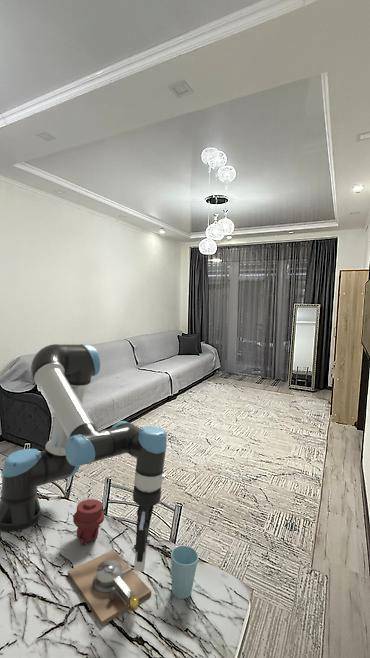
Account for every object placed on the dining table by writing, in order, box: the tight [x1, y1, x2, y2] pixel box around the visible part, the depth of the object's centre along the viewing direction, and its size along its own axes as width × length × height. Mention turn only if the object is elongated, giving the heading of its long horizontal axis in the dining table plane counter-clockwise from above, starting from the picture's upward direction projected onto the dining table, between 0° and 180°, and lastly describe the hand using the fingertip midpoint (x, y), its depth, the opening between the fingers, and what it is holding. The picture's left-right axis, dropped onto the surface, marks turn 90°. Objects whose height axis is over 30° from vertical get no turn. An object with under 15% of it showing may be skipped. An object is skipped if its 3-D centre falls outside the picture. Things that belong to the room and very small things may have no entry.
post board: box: [67, 549, 152, 627], centre depth 92 cm, size 20×15×4 cm
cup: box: [170, 545, 199, 600], centre depth 92 cm, size 8×8×10 cm
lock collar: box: [96, 560, 140, 612], centre depth 88 cm, size 7×17×3 cm, turn 43°
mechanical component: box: [72, 498, 105, 546], centre depth 110 cm, size 12×10×10 cm
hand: (139, 568), depth 90 cm, fingers closed
